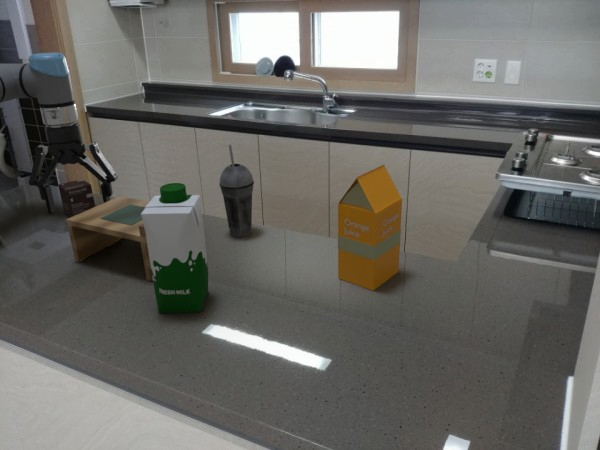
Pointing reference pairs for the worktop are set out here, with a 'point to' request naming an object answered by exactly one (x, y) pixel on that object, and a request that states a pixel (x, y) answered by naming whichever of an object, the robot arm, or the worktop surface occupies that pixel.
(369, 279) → the orange juice
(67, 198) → the box
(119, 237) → the shelf
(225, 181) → the beverage cup
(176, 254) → the milk carton
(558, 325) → the worktop surface
